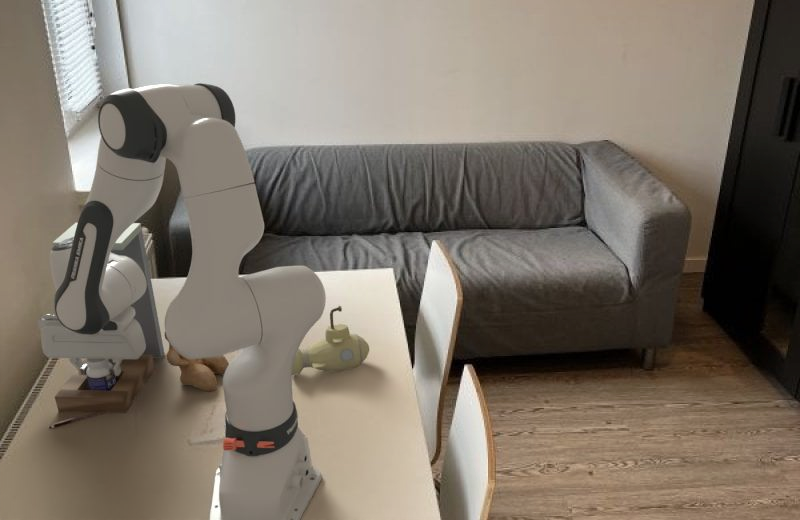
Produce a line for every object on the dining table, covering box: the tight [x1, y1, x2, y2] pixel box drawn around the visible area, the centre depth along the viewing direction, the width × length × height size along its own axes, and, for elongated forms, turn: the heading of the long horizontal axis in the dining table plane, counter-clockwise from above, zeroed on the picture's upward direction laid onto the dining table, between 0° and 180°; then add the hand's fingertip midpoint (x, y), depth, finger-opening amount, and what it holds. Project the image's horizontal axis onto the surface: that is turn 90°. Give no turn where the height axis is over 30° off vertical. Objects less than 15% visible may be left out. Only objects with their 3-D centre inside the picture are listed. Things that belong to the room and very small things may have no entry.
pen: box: [49, 411, 106, 429], centre depth 153 cm, size 11×1×1 cm, turn 119°
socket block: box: [54, 354, 155, 414], centre depth 161 cm, size 16×14×4 cm
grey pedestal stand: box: [52, 222, 165, 359], centre depth 163 cm, size 10×14×32 cm
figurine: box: [164, 331, 230, 392], centre depth 162 cm, size 11×9×15 cm
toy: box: [292, 305, 370, 376], centre depth 164 cm, size 9×17×15 cm, turn 106°
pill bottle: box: [86, 358, 117, 391], centre depth 159 cm, size 5×5×9 cm
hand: (100, 374), depth 158 cm, fingers open, 5 cm apart
